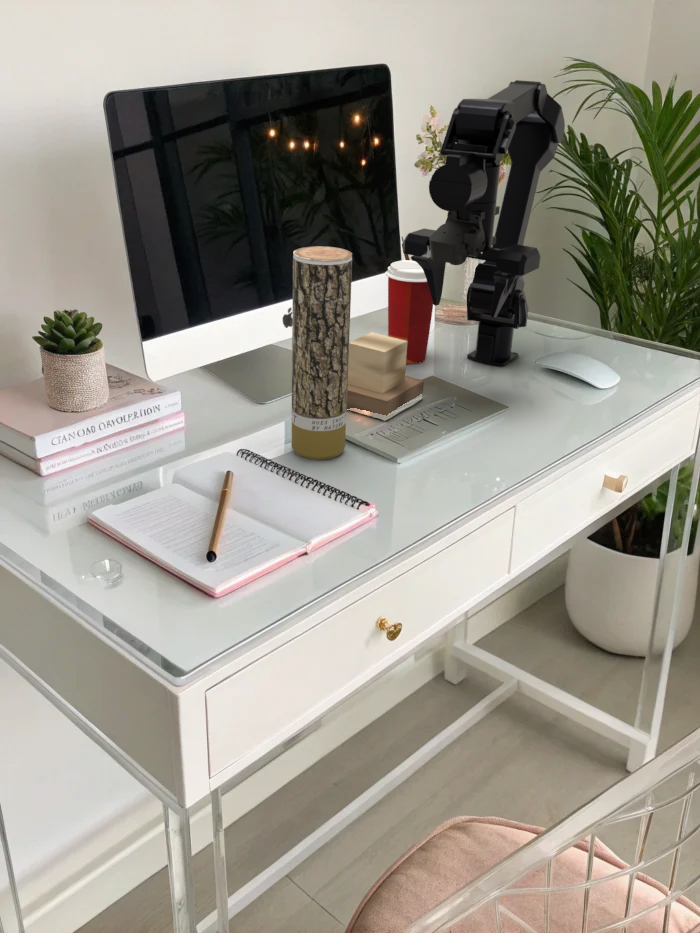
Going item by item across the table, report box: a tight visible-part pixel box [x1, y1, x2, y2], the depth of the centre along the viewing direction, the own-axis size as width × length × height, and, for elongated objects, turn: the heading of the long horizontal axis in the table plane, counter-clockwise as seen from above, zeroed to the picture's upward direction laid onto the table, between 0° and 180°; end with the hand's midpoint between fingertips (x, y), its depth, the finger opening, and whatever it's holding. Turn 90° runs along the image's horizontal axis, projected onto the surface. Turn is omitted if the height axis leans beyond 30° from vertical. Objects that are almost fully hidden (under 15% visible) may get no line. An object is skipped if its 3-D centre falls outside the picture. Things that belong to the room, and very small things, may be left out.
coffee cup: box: [384, 259, 434, 365], centre depth 145 cm, size 8×8×15 cm
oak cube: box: [348, 331, 407, 394], centre depth 129 cm, size 6×6×6 cm
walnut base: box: [347, 375, 425, 416], centre depth 131 cm, size 10×10×3 cm
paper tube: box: [291, 245, 353, 461], centre depth 111 cm, size 7×7×25 cm
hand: (464, 311), depth 132 cm, fingers open, 9 cm apart
